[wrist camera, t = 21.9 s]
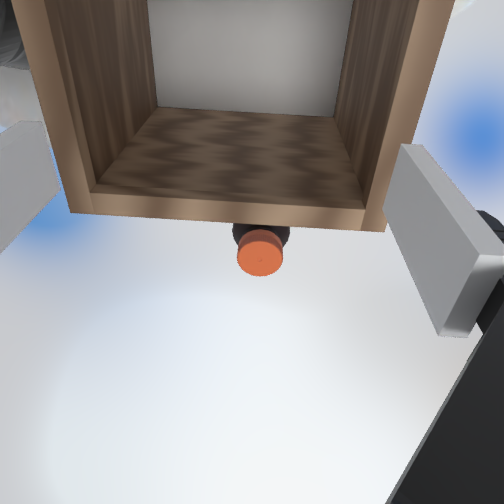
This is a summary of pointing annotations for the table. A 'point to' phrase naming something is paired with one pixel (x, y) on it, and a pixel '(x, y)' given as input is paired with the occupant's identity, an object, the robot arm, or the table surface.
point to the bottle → (260, 247)
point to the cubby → (226, 121)
